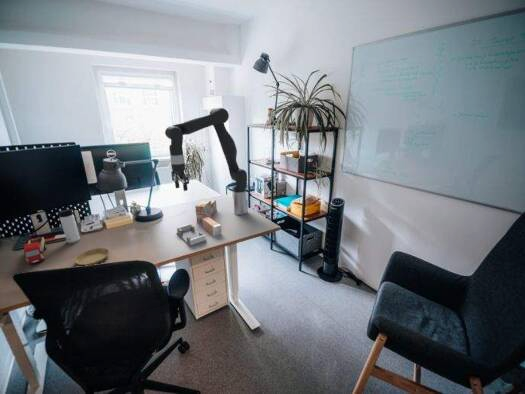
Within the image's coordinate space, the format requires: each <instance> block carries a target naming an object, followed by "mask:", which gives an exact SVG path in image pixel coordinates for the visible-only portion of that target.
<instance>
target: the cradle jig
mask: <svg viewBox="0 0 525 394" xmlns="http://www.w3.org/2000/svg"><path fill="white" fill-rule="evenodd" d="M176 234H177V236H179V238H181V240H182V241H184V242H185V243H186V244H187V245H188V246H189V247H190V248H192V247H194V246H197V245H199V244H203V243H205V242H207V240H208V239H206V235H205V234H204V233H203V232H201V231H200V232H198V231H197V230H196V229H195V226H194V225H193V224H192V223H188V224H185V225H181V226H177V227H176Z"/></svg>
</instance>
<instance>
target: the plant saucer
mask: <svg viewBox="0 0 525 394" xmlns="http://www.w3.org/2000/svg"><path fill="white" fill-rule="evenodd" d="M109 253H110V250H109V249H108V248H104V247H100V248H99V247H97V248H92V249H89V250H86V251H84V252H82V253H80V254H79V255H78V256H76V257H75V259H74V263H75V264H77V265H79V266H83V265H91V266H94V265H93V264H95V265H97V264H99V262H100V263H101V262H103V261H105V259H106V258H107V257H108V255H109ZM92 262H93V263H92ZM84 263H87V264H84Z"/></svg>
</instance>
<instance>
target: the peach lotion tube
mask: <svg viewBox="0 0 525 394" xmlns="http://www.w3.org/2000/svg"><path fill="white" fill-rule="evenodd" d="M202 221H203V223H202V226H203V227H202V228H204V229H205V230H206V231H208V232H209V233H210V234H212V236H214V237H217V236H220V235H222V224H220V223H218V222H217V221H215V220H214V219H212V217H211V218H209V217H207V218H203V219H202Z"/></svg>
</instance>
